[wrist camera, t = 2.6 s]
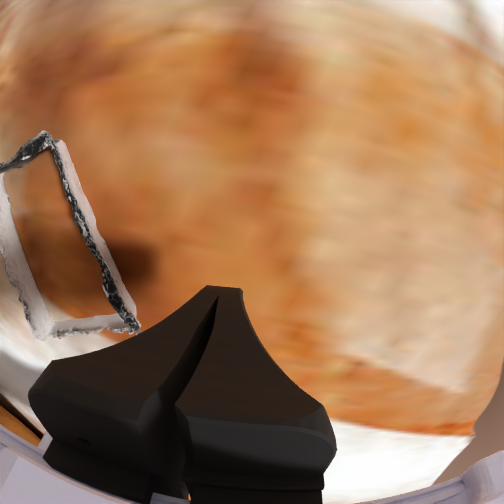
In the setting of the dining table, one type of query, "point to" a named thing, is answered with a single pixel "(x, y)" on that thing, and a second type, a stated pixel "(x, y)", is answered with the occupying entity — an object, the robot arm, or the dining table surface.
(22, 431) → the bread loaf
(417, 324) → the dining table surface
